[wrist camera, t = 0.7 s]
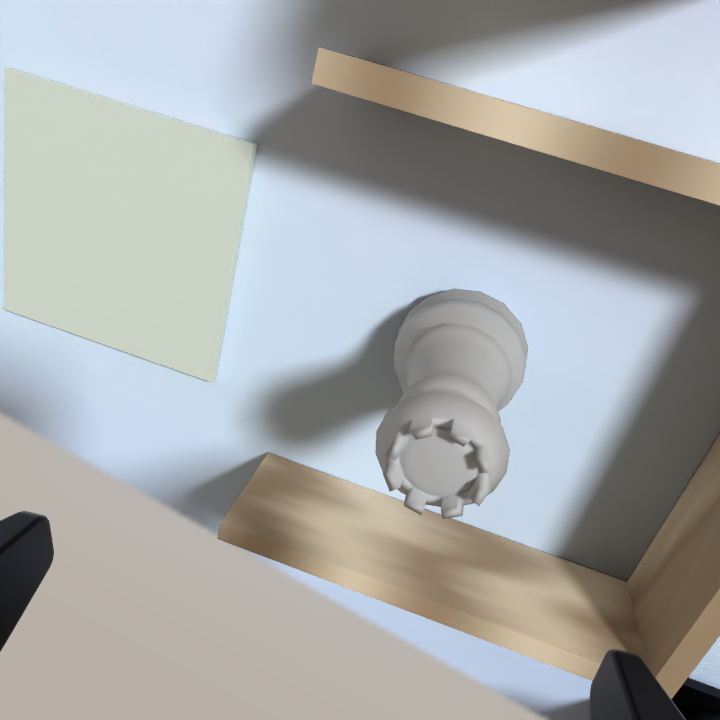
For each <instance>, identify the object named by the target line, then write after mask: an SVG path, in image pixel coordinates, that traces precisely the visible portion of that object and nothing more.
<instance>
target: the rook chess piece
mask: <svg viewBox="0 0 720 720" xmlns="http://www.w3.org/2000/svg"><path fill="white" fill-rule="evenodd" d="M527 352H528V345H527V342H526V338H525V335H524V331H523V328H522V324H521V323H520V322H519V320H518V319H517V318H516V317H515V316H514V314H513V313H512V312H511V311H510V310H509V308H508V307H507V306H506V305H505V304H504V303H502V302H500V301H498V300H496V299H494V298H492V297H490V296H489V295H487V294H485V293H483V292H481V291H471V290H461V289H451V290H448V291H444V292H441V293H437V294H434V295H430V296H428V297H426V298H425V299H424V300H423V301H421V302H420V303H419V304H418V305H416V306H415V307H414V308H413V309H411V310H410V311H409V312H408V314H407V316H406V318H405V320H404V321H403V323H402V325H401V327H400V329H399V331H398V333H397V340H396V342H395V353H394V369H395V372H396V375H397V378H398V380H399V383H400V386H401V389H402V391H403V394H402V396H401V398H400V399H399V401H398V403H397V405H396V406H394V407H393V408H391V409H390V410H389V411H388V412H387V413H386V415H385V417H384V419H383V421H382V422H381V424H380V426H379V428H378V429H377V435H376V456H377V458H378V461H379V463H380V466H381V468H382V471H383V475H384V478H385V480H386V483H387V485H388V488H389V491H392V490H395V489H398V490H399V491H400V492H401V493H403V494H405V495H406V498H405V501H404V505H403V506H405V507H406V508H408V509H410V510H412V511H414V512H416V513H418V514H420V515H422V513H423V510H424V507H425V504H427V505H433V506H439V507H441V513H442V519H445V518H452V517H458V516H462V515H463V506H464V505H468V504H473V503H476V504H477V505H478V506H480V504H481V503H482V501H483V500H484V498H485V497H486V496H487V495H488V494H490V493H491V492H493V491H494V489H495V488H496V487H497V485H498V484H499V482H500V481H501V480H502V478H503V477H504V475H505V474H506V471H507V465H508V459H509V452H510V449H509V446H508V443H507V440H506V436H505V433H504V430H503V427H502V426H501V425H500V423H501V419H500V416H499V413H498V411H499V410H500V409H502V408H503V407H505V406H506V405H507V404H508V403H509V402H510V400H511V399H512V397H513V396H514V394H515V393H516V391H517V390H518V388H519V387H520V385H521V384H522V382H523V378H524V371H525V365H526V359H527Z"/></svg>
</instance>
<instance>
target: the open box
mask: <svg viewBox="0 0 720 720" xmlns="http://www.w3.org/2000/svg"><path fill="white" fill-rule="evenodd" d="M311 83H312V84H315V85H318V86H322V87H325V88H328V89H332V90H335V91H338V92H342V93H345V94H348V95H352V96H355V97H358V98H362V99H365V100H368V101H372V102H375V103H379V104H382V105H385V106H389V107H392V108H395V109H399V110H402V111H405V112H409V113H412V114H415V115H419V116H422V117H425V118H429V119H432V120H435V121H439V122H442V123H445V124H449V125H452V126H455V127H459V128H462V129H465V130H469V131H472V132H476V133H479V134H482V135H486V136H489V137H492V138H496V139H499V140H502V141H506V142H509V143H512V144H516V145H519V146H522V147H526V148H529V149H532V150H536V151H539V152H542V153H546V154H549V155H552V156H556V157H559V158H562V159H566V160H569V161H573V162H576V163H579V164H583V165H586V166H589V167H593V168H596V169H599V170H603V171H606V172H609V173H613V174H616V175H619V176H623V177H626V178H629V179H633V180H636V181H639V182H643V183H646V184H649V185H653V186H656V187H659V188H663V189H666V190H670V191H673V192H676V193H680V194H683V195H686V196H690V197H693V198H696V199H700V200H703V201H706V202H710V203H713V204H716V205H720V164H719V163H716V162H713V161H709V160H706V159H702V158H699V157H696V156H692V155H689V154H685V153H682V152H678V151H675V150H672V149H668V148H665V147H661V146H658V145H655V144H651V143H648V142H644V141H641V140H637V139H634V138H631V137H627V136H624V135H620V134H617V133H614V132H610V131H607V130H603V129H600V128H596V127H593V126H590V125H586V124H583V123H579V122H576V121H573V120H569V119H566V118H562V117H559V116H555V115H552V114H549V113H545V112H542V111H538V110H535V109H531V108H528V107H525V106H521V105H518V104H514V103H511V102H508V101H504V100H501V99H497V98H494V97H490V96H487V95H484V94H480V93H477V92H473V91H470V90H467V89H463V88H460V87H456V86H453V85H449V84H446V83H443V82H439V81H436V80H432V79H429V78H426V77H422V76H419V75H415V74H412V73H408V72H405V71H402V70H398V69H395V68H391V67H388V66H385V65H381V64H378V63H374V62H371V61H367V60H364V59H361V58H357V57H353V56H350V55H346V54H342V53H338V52H335V51H331V50H327V49H324V48H320V47H319V48H318V53H317V58H316V62H315V67H314V72H313V77H312V82H311ZM403 505H404V501H401V500H398V499H395V498H393V497H390V496H387V495H384V494H382V493H379V492H376V491H373V490H371V489H368V488H365V487H362V486H360V485H357V484H354V483H351V482H348V481H346V480H343V479H340V478H337V477H335V476H332V475H329V474H326V473H324V472H321V471H318V470H315V469H312V468H310V467H307V466H304V465H301V464H299V463H296V462H293V461H290V460H288V459H285V458H282V457H279V456H277V455H274V454H271V453H267V455H266V456H265V458H264V459H263V461H262V462H261V464H260V465H259V467H258V468H257V469H256V471H255V472H254V474H253V475H252V477H251V478H250V480H249V481H248V483H247V484H246V486H245V487H244V489H243V490H242V491H241V493H240V494H239V496H238V497H237V499H236V500H235V502H234V503H233V505H232V506H231V508H230V509H229V511H228V512H227V514H226V515H225V516H224V518H223V519H222V521H221V524H220V529H219V534H218V539H219V540H222V541H225V542H227V543H230V544H232V545H235V546H238V547H240V548H243V549H246V550H248V551H251V552H254V553H256V554H259V555H262V556H264V557H267V558H269V559H272V560H275V561H277V562H280V563H283V564H285V565H288V566H291V567H293V568H296V569H299V570H301V571H304V572H306V573H309V574H312V575H314V576H317V577H320V578H322V579H325V580H328V581H330V582H333V583H335V584H338V585H341V586H343V587H346V588H349V589H351V590H354V591H357V592H359V593H362V594H365V595H367V596H370V597H372V598H375V599H378V600H380V601H383V602H386V603H388V604H391V605H394V606H396V607H399V608H402V609H404V610H407V611H409V612H412V613H415V614H417V615H420V616H423V617H425V618H428V619H431V620H433V621H436V622H438V623H441V624H444V625H446V626H449V627H452V628H454V629H457V630H460V631H462V632H465V633H468V634H470V635H473V636H475V637H478V638H481V639H483V640H486V641H489V642H491V643H494V644H497V645H499V646H502V647H505V648H507V649H510V650H512V651H515V652H518V653H520V654H523V655H526V656H528V657H531V658H534V659H536V660H539V661H541V662H544V663H547V664H549V665H552V666H555V667H557V668H560V669H563V670H565V671H568V672H571V673H573V674H576V675H578V676H581V677H584V678H586V679H589V680H592V681H593V679H594V677H595V675H596V673H597V671H598V669H599V667H600V665H601V662H602V660H603V658H604V656H605V654H606V653H607V651H608V650H610V649H617V650H622V651H626V652H630V653H634V654H636V655H638V656H639V657H640V658H641V659H642V660H643V661H644V662H645V664H646V665H647V667H648V668H649V669H650V671H651V672H652V674H653V675H654V676H655V678H656V679H657V680H658V682H659V683H660V685H661V686H662V687H663V689H664V690H665V692H666V693H667V694H668V696H669V697H670V698H671V699H672V698H673V696H674V695H675V694H676V693H677V691H678V690H679V689H680V687H681V686H682V685H683V683H684V682H685V681H686V679H687V678H688V677H689V675H690V674H691V673H692V671H693V670H694V669H695V667H696V666H697V665H698V663H699V662H700V661H701V659H702V658H703V657H704V656H705V654H706V653H707V652H708V650H709V649H710V648H711V646H712V645H713V644H714V642H715V641H716V640H717V638H718V637H719V636H720V434H719V435H718V437H717V439H716V440H715V442H714V443H713V445H712V447H711V448H710V450H709V451H708V453H707V455H706V456H705V458H704V459H703V461H702V463H701V464H700V466H699V467H698V469H697V471H696V472H695V474H694V475H693V477H692V479H691V480H690V482H689V484H688V485H687V487H686V488H685V490H684V492H683V493H682V495H681V496H680V498H679V500H678V501H677V503H676V504H675V506H674V508H673V509H672V511H671V512H670V514H669V516H668V517H667V519H666V520H665V522H664V524H663V525H662V527H661V528H660V530H659V532H658V533H657V535H656V536H655V538H654V540H653V541H652V543H651V544H650V546H649V548H648V549H647V551H646V552H645V554H644V556H643V557H642V559H641V560H640V562H639V564H638V565H637V567H636V568H635V570H634V572H633V573H632V575H631V576H630V578H629V580H628V581H627V582H625V581H622V580H620V579H617V578H614V577H611V576H609V575H606V574H603V573H600V572H597V571H595V570H592V569H589V568H586V567H584V566H581V565H578V564H575V563H573V562H570V561H567V560H564V559H561V558H559V557H556V556H553V555H550V554H548V553H545V552H542V551H539V550H537V549H534V548H531V547H528V546H526V545H523V544H520V543H517V542H514V541H512V540H509V539H506V538H503V537H501V536H498V535H495V534H492V533H490V532H487V531H484V530H481V529H478V528H476V527H473V526H470V525H467V524H465V523H462V522H459V521H456V520H454V519H451V518H445V519H442V515H440V514H437V513H434V512H431V511H429V510H426V509H424V510H423V513H422V515H420V514H418V513H416V512H414V511H412V510H410V509H408V508H406V507H405V506H403Z"/></svg>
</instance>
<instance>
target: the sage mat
mask: <svg viewBox="0 0 720 720" xmlns="http://www.w3.org/2000/svg"><path fill="white" fill-rule="evenodd" d="M256 150H257V144H255V143H252V142H248V141H245V140H242V139H239V138H236V137H232V136H229V135H226V134H223V133H220V132H216V131H213V130H210V129H207V128H203V127H200V126H197V125H194V124H191V123H187V122H184V121H181V120H178V119H175V118H171V117H168V116H165V115H162V114H159V113H155V112H152V111H149V110H146V109H142V108H139V107H136V106H133V105H130V104H126V103H123V102H120V101H117V100H114V99H110V98H107V97H104V96H101V95H98V94H94V93H91V92H88V91H85V90H82V89H78V88H75V87H72V86H69V85H65V84H62V83H59V82H56V81H53V80H49V79H46V78H43V77H40V76H37V75H33V74H30V73H27V72H24V71H21V70H17V69H14V68H5V242H4V309H5V310H8V311H11V312H13V313H16V314H19V315H22V316H25V317H28V318H30V319H33V320H36V321H39V322H42V323H45V324H47V325H50V326H53V327H56V328H59V329H62V330H64V331H67V332H70V333H73V334H76V335H78V336H81V337H84V338H87V339H90V340H93V341H95V342H98V343H101V344H104V345H107V346H110V347H112V348H115V349H118V350H121V351H124V352H127V353H129V354H132V355H135V356H138V357H141V358H144V359H146V360H149V361H152V362H155V363H158V364H161V365H163V366H166V367H169V368H172V369H175V370H178V371H180V372H183V373H186V374H189V375H192V376H195V377H197V378H200V379H203V380H206V381H209V382H213V381H214V380H215V379H216V376H217V370H218V365H219V359H220V353H221V348H222V342H223V336H224V331H225V325H226V319H227V314H228V308H229V303H230V297H231V291H232V286H233V280H234V274H235V269H236V263H237V257H238V252H239V246H240V240H241V235H242V229H243V223H244V218H245V212H246V206H247V201H248V195H249V190H250V184H251V178H252V173H253V167H254V161H255V156H256Z"/></svg>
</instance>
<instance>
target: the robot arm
mask: <svg viewBox="0 0 720 720" xmlns="http://www.w3.org/2000/svg"><path fill="white" fill-rule="evenodd" d="M53 555H54V550H53V543H52V537H51V530H50V523H49V520H48V519H47V517H46V516H44V515H40V514H36V513H31V512H26V511H23V512H18V513H16V514H14V515H12V516H9V517H7V518H5V519H3V520H1V521H0V651H1V650H2V648H3V646H4V645H5V643H6V641H7V640H8V638H9V636H10V635H11V633H12V631H13V630H14V628H15V626H16V624H17V623H18V621H19V619H20V618H21V616H22V614H23V612H24V611H25V609H26V607H27V606H28V604H29V602H30V600H31V599H32V597H33V595H34V593H35V592H36V590H37V588H38V587H39V585H40V583H41V581H42V580H43V578H44V576H45V575H46V573H47V571H48V569H49V568H50V566H51V563H52V560H53ZM590 712H591V720H720V690H717V689H715V688H712V687H709V686H707V685H704V684H701V683H699V682H696V681H693V680H691V679H688V678H687V679H686V681H685V682H684V683H683V685H682V686H681V687H680V689H679V690H678V691H677V693H676V694H675V695H674V696H673V698H672V699H671V698H670V697H669V696H668V694H667V693H666V692H665V690H664V689H663V687H662V686H661V685H660V683H659V682H658V680H657V679H656V678H655V676H654V675H653V674H652V672H651V671H650V669H649V668H648V667H647V665H646V664H645V662H644V661H643V660H642V659H641V658H640V657H639V656H638V655H636V654H634V653H630V652H626V651H622V650H617V649H610V650H608V651H607V653H606V654H605V656H604V658H603V660H602V662H601V665H600V667H599V669H598V671H597V673H596V675H595V677H594V679H593V682H592V685H591V690H590Z"/></svg>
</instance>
